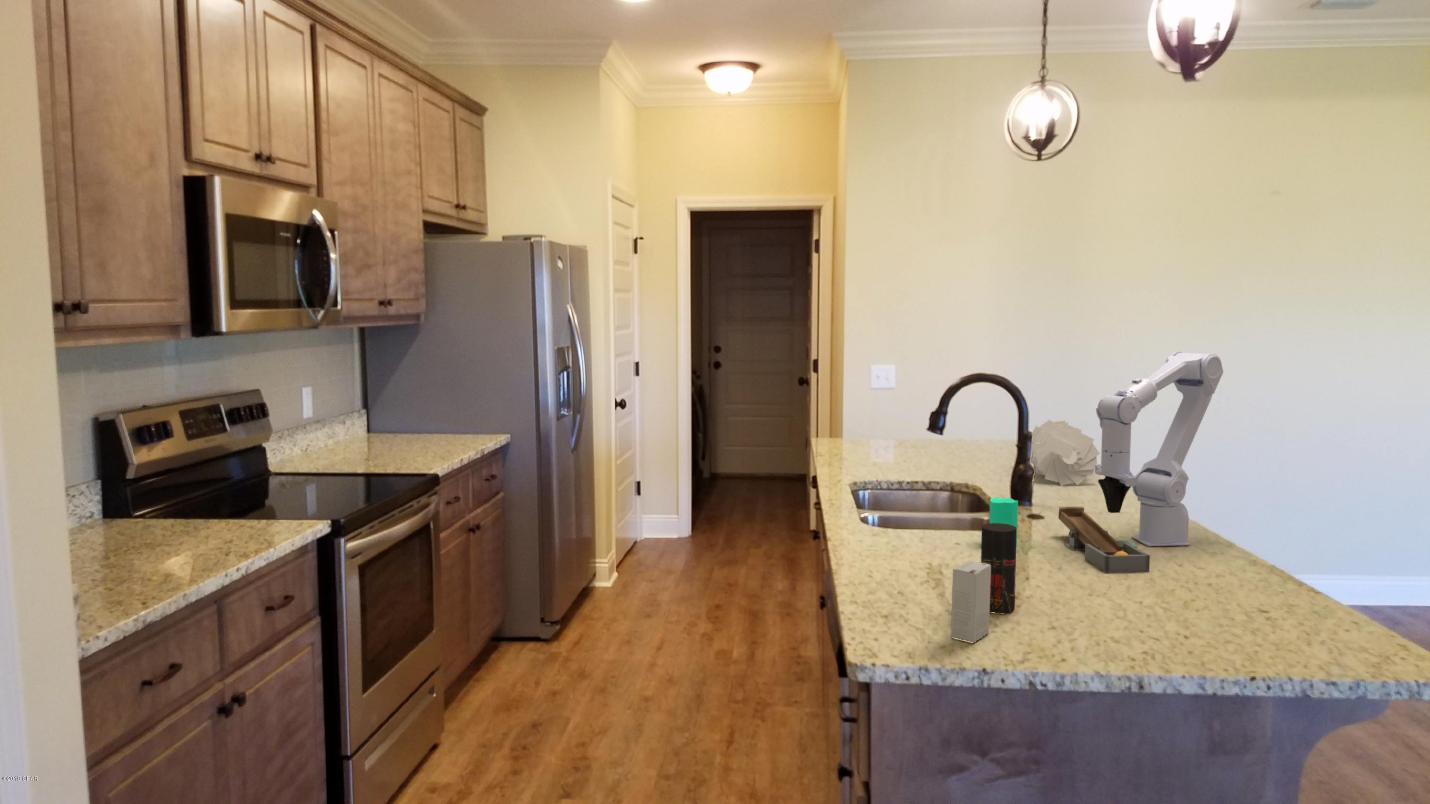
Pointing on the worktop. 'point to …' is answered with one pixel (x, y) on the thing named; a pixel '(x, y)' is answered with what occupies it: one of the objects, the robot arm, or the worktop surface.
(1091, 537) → the tilt board
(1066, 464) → the spiral staircase
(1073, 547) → the pivot bracket
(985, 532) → the deodorant
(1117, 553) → the ball
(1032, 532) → the worktop surface
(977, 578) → the skincare box
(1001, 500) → the candle
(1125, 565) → the tray
